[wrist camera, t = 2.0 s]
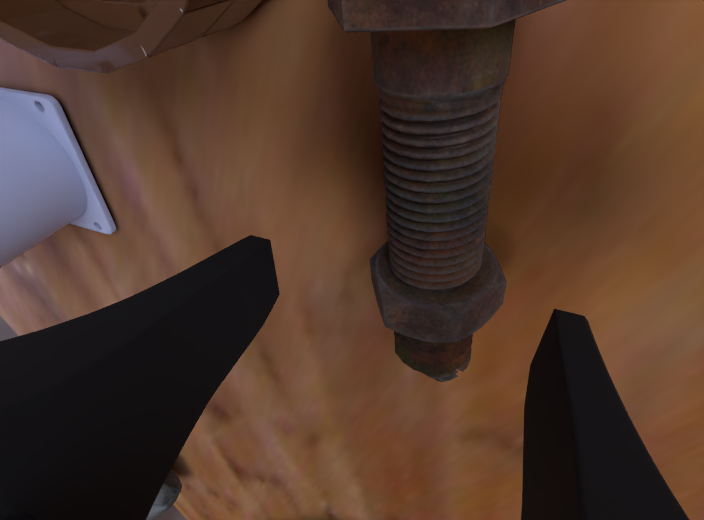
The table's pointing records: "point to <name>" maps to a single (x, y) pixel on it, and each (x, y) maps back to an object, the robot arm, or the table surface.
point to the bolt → (437, 166)
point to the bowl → (112, 28)
